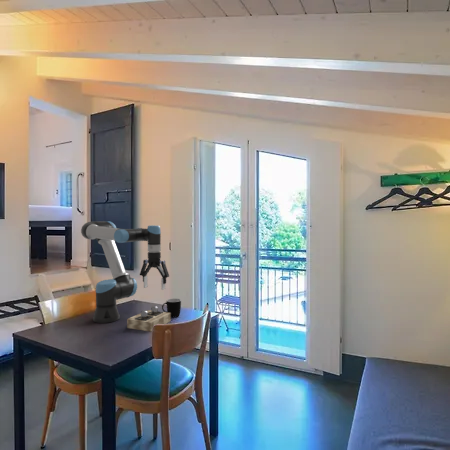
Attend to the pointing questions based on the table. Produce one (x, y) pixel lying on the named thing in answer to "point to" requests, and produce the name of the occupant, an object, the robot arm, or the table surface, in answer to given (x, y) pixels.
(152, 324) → the socket block
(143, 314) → the peg near
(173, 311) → the mug
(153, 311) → the peg far
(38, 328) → the table surface
